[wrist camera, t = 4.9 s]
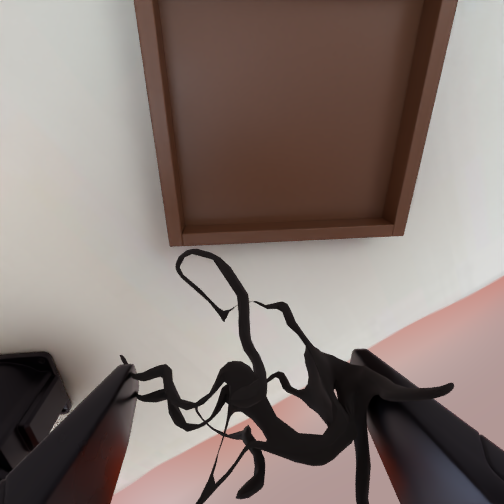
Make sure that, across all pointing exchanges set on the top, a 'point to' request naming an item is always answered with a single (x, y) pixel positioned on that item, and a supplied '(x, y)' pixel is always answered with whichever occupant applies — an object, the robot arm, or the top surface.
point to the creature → (314, 395)
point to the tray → (290, 114)
